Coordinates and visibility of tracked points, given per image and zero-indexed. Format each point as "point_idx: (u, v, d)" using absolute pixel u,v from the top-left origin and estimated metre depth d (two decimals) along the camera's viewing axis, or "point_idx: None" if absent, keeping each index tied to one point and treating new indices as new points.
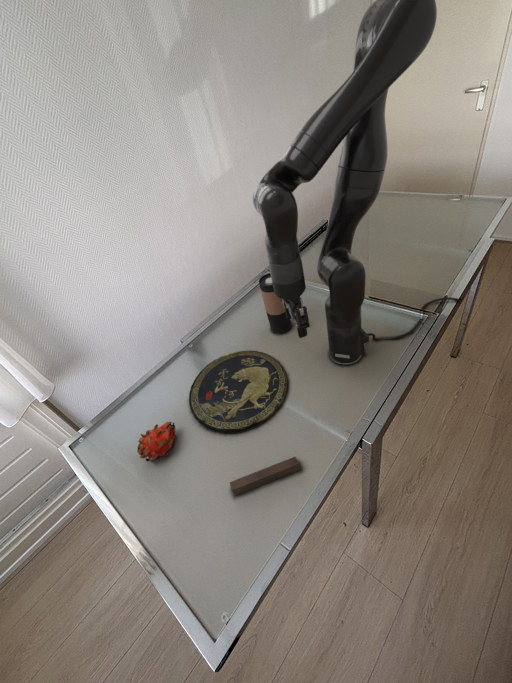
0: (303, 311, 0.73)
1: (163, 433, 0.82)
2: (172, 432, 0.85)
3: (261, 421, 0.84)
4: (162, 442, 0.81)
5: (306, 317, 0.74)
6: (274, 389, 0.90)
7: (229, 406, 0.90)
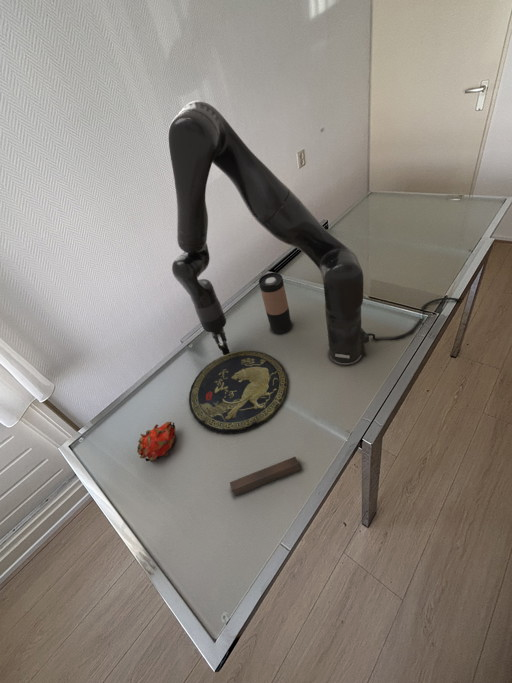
0: (223, 346, 0.97)
1: (163, 433, 0.82)
2: (172, 432, 0.85)
3: (261, 422, 0.84)
4: (162, 442, 0.81)
5: (225, 346, 0.99)
6: (274, 389, 0.90)
7: (229, 407, 0.90)
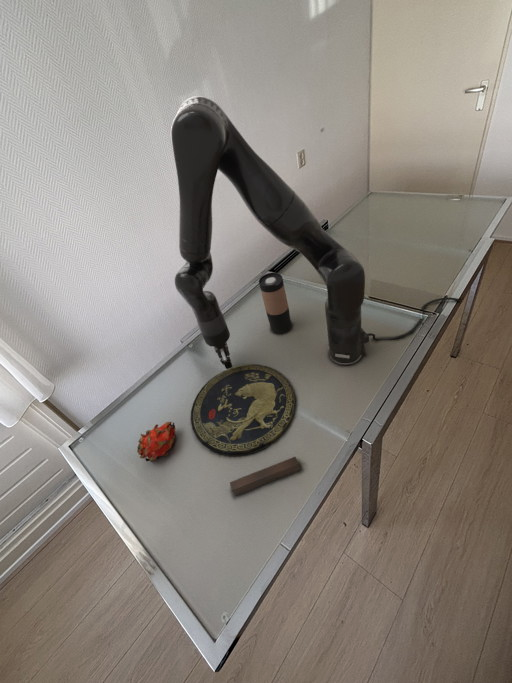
0: (226, 361, 0.92)
1: (163, 433, 0.82)
2: (172, 432, 0.85)
3: (269, 443, 0.79)
4: (162, 442, 0.81)
5: (228, 361, 0.93)
6: (281, 407, 0.86)
7: (234, 426, 0.85)
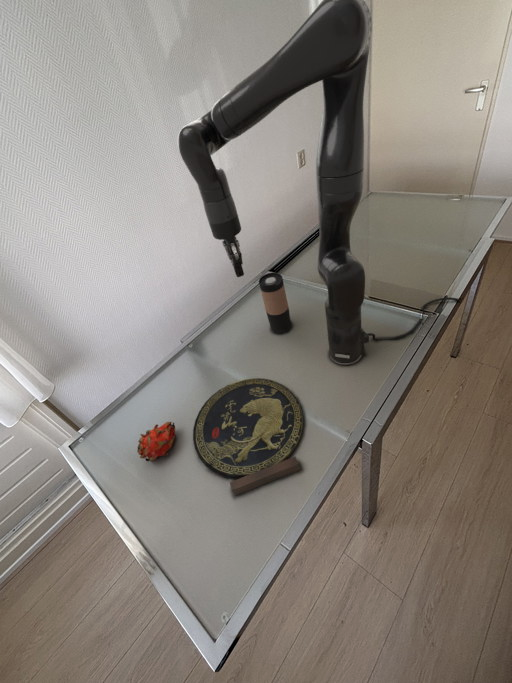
0: (238, 257, 0.81)
1: (163, 433, 0.82)
2: (172, 432, 0.85)
3: None
4: (162, 442, 0.81)
5: (240, 260, 0.83)
6: (288, 426, 0.81)
7: (239, 446, 0.80)
